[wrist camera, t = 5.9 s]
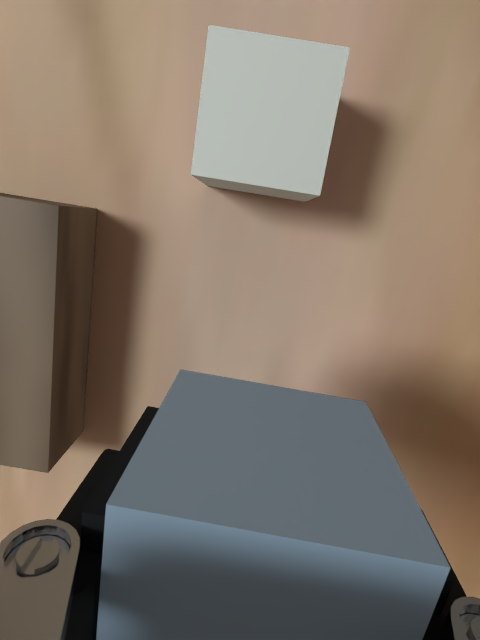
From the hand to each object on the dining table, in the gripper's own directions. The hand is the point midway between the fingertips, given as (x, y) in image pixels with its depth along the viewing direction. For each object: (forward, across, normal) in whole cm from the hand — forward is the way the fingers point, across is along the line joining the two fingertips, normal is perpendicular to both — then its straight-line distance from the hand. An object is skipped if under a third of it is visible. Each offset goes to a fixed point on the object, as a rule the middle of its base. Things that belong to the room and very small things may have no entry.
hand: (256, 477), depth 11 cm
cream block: (+12, +2, -10) cm, 16 cm away
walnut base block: (+11, +15, +1) cm, 18 cm away
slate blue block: (+1, 0, 0) cm, 1 cm away
